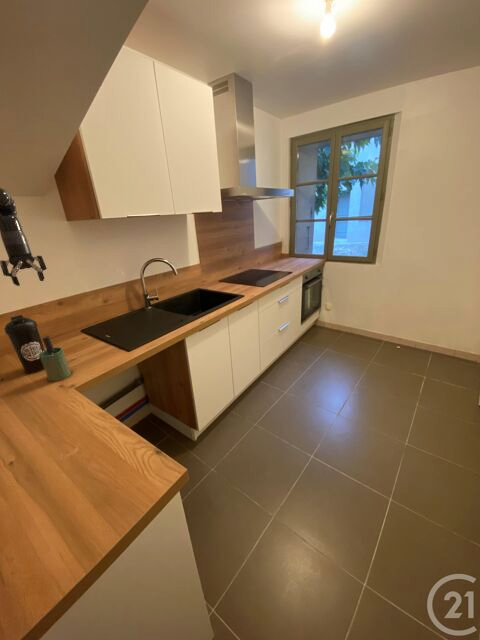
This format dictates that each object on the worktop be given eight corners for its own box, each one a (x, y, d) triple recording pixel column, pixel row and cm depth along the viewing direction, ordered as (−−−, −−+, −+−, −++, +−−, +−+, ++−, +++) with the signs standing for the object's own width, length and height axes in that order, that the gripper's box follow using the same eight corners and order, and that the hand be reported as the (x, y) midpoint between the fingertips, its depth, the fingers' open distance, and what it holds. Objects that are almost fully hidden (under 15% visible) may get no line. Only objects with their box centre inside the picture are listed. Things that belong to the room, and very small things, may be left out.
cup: (45, 383, 100) (35, 358, 96) (52, 373, 106) (43, 349, 102) (67, 379, 101) (58, 354, 97) (73, 369, 108) (65, 345, 104)
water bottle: (25, 377, 105) (2, 324, 96) (20, 368, 111) (-2, 318, 103) (54, 366, 111) (35, 316, 103) (48, 359, 118) (30, 311, 109)
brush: (53, 376, 102) (39, 340, 96) (56, 372, 105) (42, 336, 99) (62, 375, 102) (49, 338, 97) (65, 370, 106) (52, 334, 100)
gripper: (32, 241, 111) (45, 278, 117) (-11, 245, 100) (6, 286, 106) (40, 241, 107) (53, 280, 113) (-4, 245, 96) (13, 288, 102)
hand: (30, 283), depth 109 cm, fingers open, 8 cm apart
